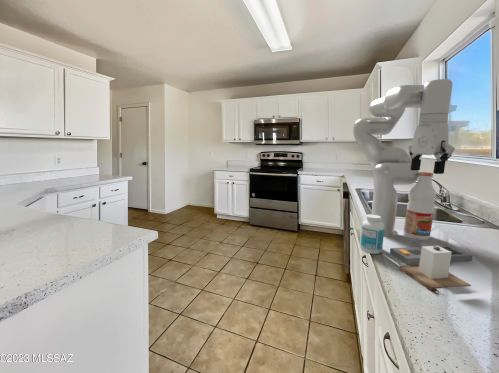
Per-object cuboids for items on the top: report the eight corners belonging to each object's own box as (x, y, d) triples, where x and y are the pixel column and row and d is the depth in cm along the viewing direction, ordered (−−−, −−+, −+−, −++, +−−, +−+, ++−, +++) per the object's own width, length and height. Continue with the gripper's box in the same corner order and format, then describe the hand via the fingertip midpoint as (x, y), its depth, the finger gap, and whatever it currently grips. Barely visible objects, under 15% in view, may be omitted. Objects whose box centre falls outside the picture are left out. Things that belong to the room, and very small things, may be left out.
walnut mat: (399, 269, 79) (400, 265, 79) (433, 267, 80) (434, 263, 80) (430, 291, 67) (431, 287, 67) (469, 288, 68) (470, 284, 68)
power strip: (389, 256, 88) (390, 246, 87) (449, 253, 91) (451, 243, 90) (405, 267, 80) (407, 256, 80) (471, 263, 83) (473, 253, 82)
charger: (418, 270, 75) (422, 244, 74) (434, 269, 76) (438, 243, 75) (430, 278, 71) (434, 251, 70) (447, 277, 72) (452, 250, 70)
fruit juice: (410, 232, 111) (420, 171, 106) (433, 239, 103) (445, 173, 98) (398, 235, 107) (407, 171, 102) (421, 243, 99) (432, 174, 94)
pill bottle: (375, 246, 96) (378, 213, 94) (386, 254, 89) (390, 219, 86) (356, 246, 96) (359, 213, 94) (365, 255, 89) (369, 219, 86)
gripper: (403, 122, 89) (398, 169, 92) (446, 117, 72) (438, 175, 75) (422, 122, 90) (416, 169, 93) (469, 117, 73) (460, 175, 76)
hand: (426, 171), depth 84 cm, fingers open, 9 cm apart
